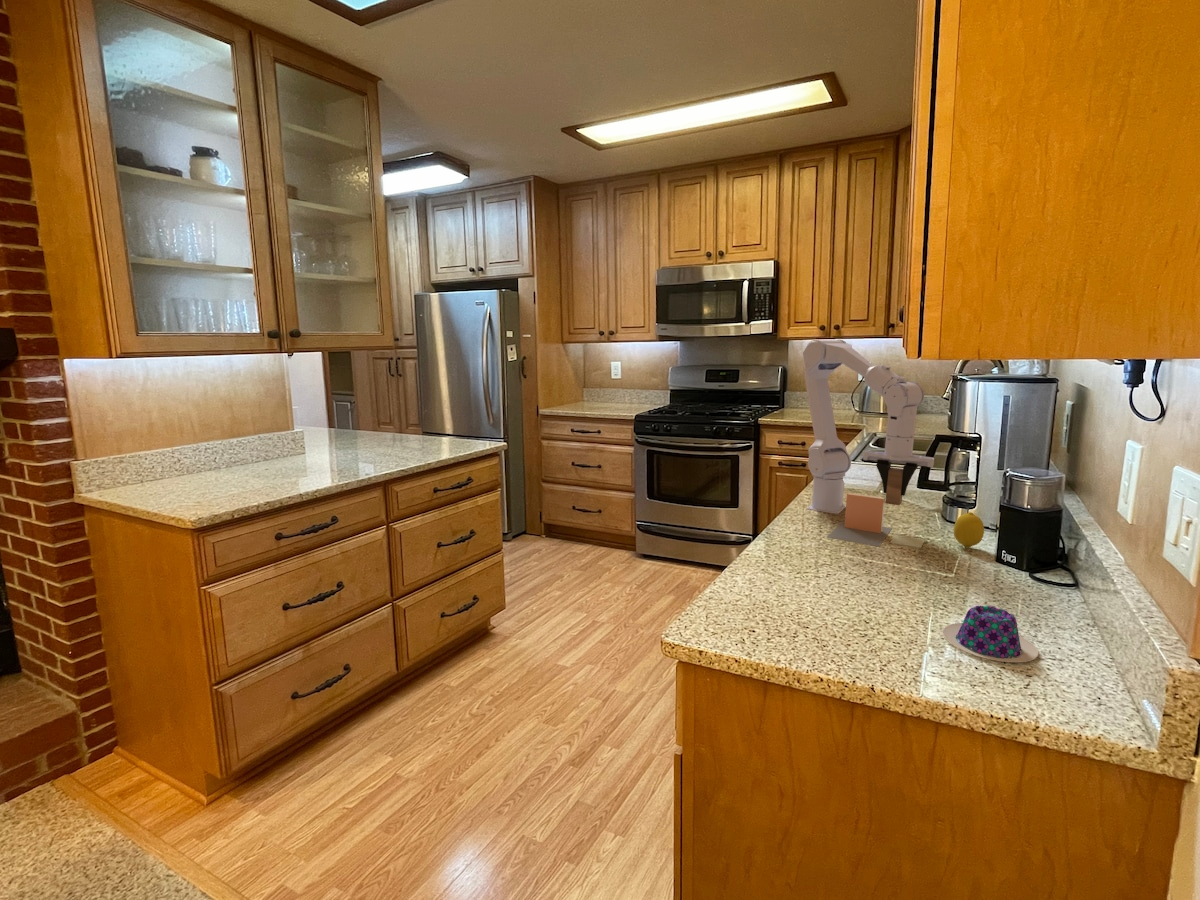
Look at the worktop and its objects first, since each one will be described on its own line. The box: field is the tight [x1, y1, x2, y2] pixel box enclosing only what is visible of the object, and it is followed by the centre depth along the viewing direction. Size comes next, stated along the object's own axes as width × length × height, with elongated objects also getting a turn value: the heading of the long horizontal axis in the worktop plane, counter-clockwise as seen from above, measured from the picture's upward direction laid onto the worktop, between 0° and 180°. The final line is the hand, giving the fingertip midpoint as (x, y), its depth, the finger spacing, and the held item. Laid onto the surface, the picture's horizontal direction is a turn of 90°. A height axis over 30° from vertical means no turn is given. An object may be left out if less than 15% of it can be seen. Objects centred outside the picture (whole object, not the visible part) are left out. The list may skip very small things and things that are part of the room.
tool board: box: [890, 534, 926, 549], centre depth 135 cm, size 6×6×1 cm
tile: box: [844, 492, 886, 533], centre depth 143 cm, size 2×8×8 cm, turn 56°
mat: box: [826, 519, 893, 547], centre depth 142 cm, size 16×11×1 cm
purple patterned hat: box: [942, 605, 1039, 663], centre depth 90 cm, size 12×12×5 cm
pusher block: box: [885, 467, 903, 506], centre depth 142 cm, size 3×3×8 cm
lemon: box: [953, 511, 985, 549], centre depth 132 cm, size 6×6×8 cm
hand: (894, 493), depth 143 cm, fingers closed on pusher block, 3 cm apart
